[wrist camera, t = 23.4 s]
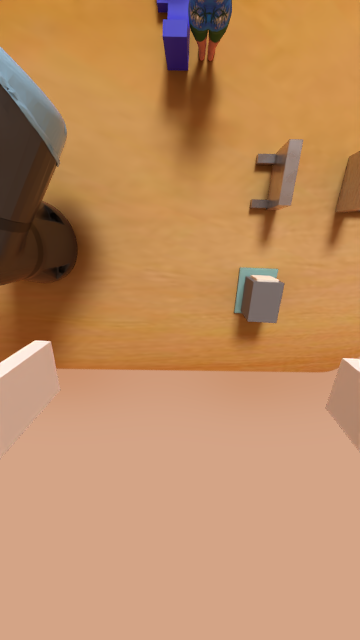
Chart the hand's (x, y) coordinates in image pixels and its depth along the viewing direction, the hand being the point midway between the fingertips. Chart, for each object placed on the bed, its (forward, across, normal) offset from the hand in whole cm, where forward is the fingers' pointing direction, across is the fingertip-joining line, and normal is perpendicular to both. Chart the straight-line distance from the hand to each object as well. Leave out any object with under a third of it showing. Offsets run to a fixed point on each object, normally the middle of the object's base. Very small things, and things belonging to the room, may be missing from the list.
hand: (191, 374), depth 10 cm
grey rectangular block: (+34, +13, -4) cm, 37 cm away
